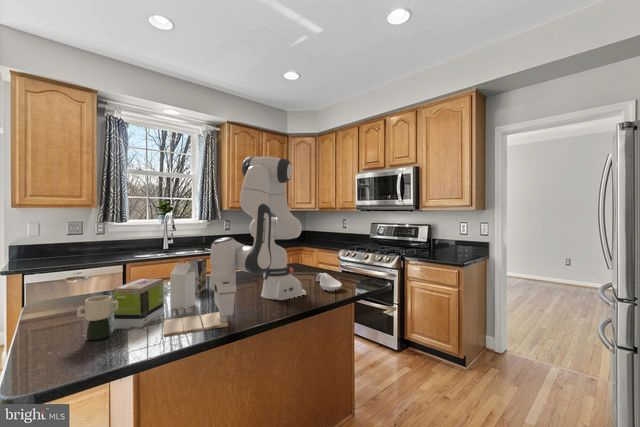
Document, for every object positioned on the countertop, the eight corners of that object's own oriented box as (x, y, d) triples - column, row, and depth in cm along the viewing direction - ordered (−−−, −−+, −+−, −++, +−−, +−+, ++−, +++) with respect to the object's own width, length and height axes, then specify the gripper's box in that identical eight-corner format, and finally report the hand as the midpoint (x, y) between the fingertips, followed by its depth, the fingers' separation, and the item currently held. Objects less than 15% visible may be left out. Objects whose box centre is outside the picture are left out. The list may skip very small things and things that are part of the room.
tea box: (139, 314, 120) (140, 277, 120) (164, 315, 120) (164, 278, 120) (112, 329, 105) (113, 287, 105) (140, 329, 105) (141, 287, 105)
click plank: (222, 314, 119) (221, 311, 119) (228, 327, 107) (228, 322, 107) (200, 319, 116) (199, 315, 116) (203, 332, 103) (203, 327, 103)
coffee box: (199, 292, 153) (200, 261, 153) (187, 292, 153) (187, 261, 153) (206, 288, 162) (207, 258, 162) (195, 288, 163) (195, 258, 162)
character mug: (115, 330, 104) (115, 293, 104) (120, 336, 99) (120, 297, 99) (75, 339, 97) (75, 299, 97) (78, 346, 92) (79, 304, 92)
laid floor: (198, 319, 115) (198, 315, 115) (202, 332, 103) (202, 328, 103) (164, 324, 110) (164, 320, 110) (163, 338, 98) (163, 334, 98)
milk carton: (184, 310, 126) (185, 265, 126) (170, 309, 127) (170, 264, 127) (195, 305, 133) (195, 262, 133) (180, 304, 134) (181, 261, 134)
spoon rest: (345, 292, 157) (345, 278, 157) (324, 294, 153) (324, 280, 153) (327, 282, 179) (327, 270, 179) (309, 284, 175) (309, 271, 175)
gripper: (210, 277, 117) (210, 313, 117) (218, 290, 98) (217, 332, 98) (226, 276, 119) (226, 311, 119) (237, 287, 101) (237, 328, 101)
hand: (222, 320), depth 109 cm, fingers closed
